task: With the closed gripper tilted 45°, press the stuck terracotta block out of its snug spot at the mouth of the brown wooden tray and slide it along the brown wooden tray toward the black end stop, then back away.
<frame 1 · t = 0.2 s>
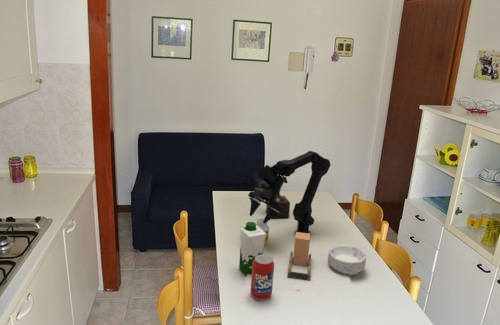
hand: (256, 219, 180), 15 cm above the table, tool tilted 35°, fingers open, 9 cm apart
soda can: (260, 295, 151), on the table
paper bowls: (345, 270, 172), on the table
brown wooden tray: (299, 265, 174), on the table
brown manual coffee grinder: (272, 215, 223), on the table
jammed block: (301, 249, 172), point 7 cm above the table, slide at 0.0 cm
milk carton: (250, 271, 166), on the table
supplement bottle: (260, 246, 188), on the table
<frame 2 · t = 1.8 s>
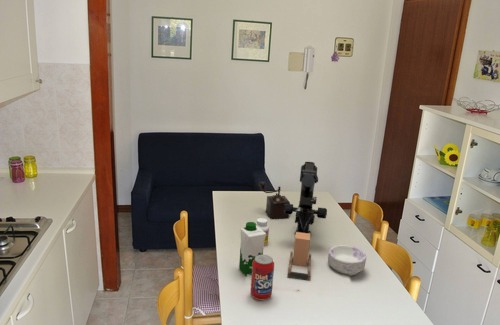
hand: (303, 229, 178), 13 cm above the table, tool tilted 45°, fingers closed
nothing on the table moved.
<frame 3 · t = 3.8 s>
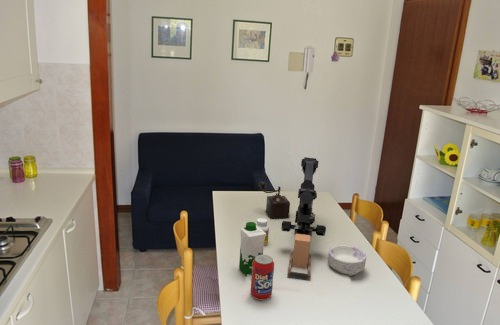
hand: (301, 247, 173), 7 cm above the table, tool tilted 45°, fingers closed, pressing on jammed block
jammed block: (301, 250, 170), point 7 cm above the table, slide at 1.6 cm, touching gripper
everything else where it was.
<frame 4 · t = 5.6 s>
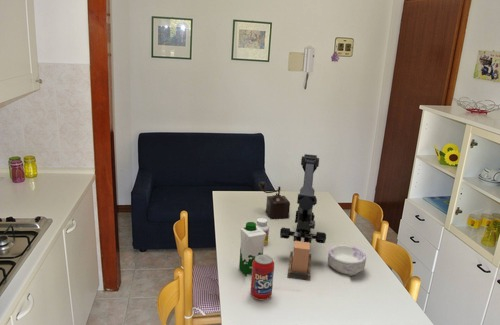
hand: (300, 255, 167), 7 cm above the table, tool tilted 45°, fingers closed, pressing on jammed block
jammed block: (300, 258, 164), point 7 cm above the table, slide at 8.2 cm, touching gripper
everything else where it was.
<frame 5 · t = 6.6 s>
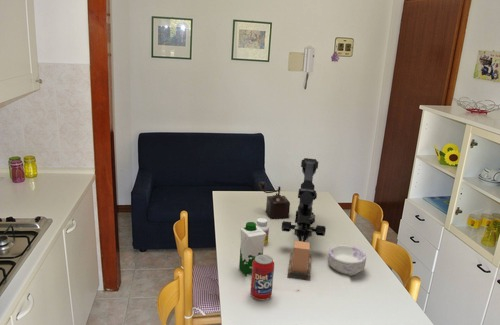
hand: (301, 247, 175), 7 cm above the table, tool tilted 45°, fingers closed
jammed block: (300, 258, 164), point 7 cm above the table, slide at 8.2 cm
everything else where it was.
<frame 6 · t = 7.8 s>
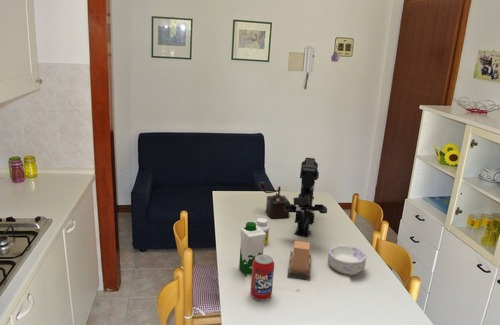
hand: (303, 227, 181), 12 cm above the table, tool tilted 35°, fingers closed
nothing on the table moved.
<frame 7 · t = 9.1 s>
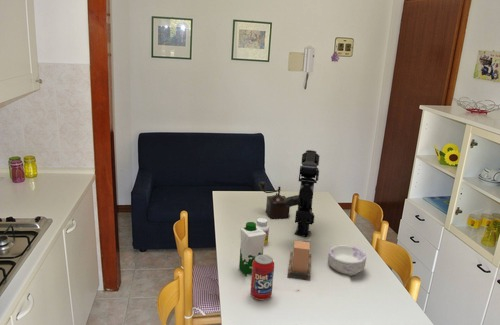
hand: (303, 224, 184), 12 cm above the table, tool pointing down, fingers closed
nothing on the table moved.
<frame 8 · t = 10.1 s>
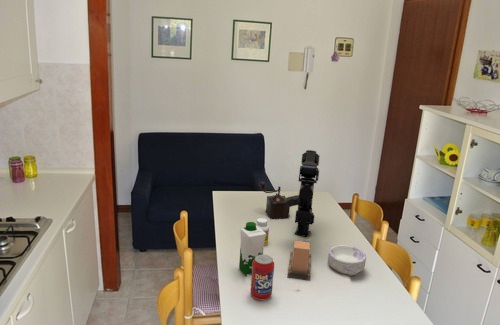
hand: (303, 224, 184), 12 cm above the table, tool pointing down, fingers closed
nothing on the table moved.
at the end: jammed block slide at 8.2 cm; the gripper is holding nothing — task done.
